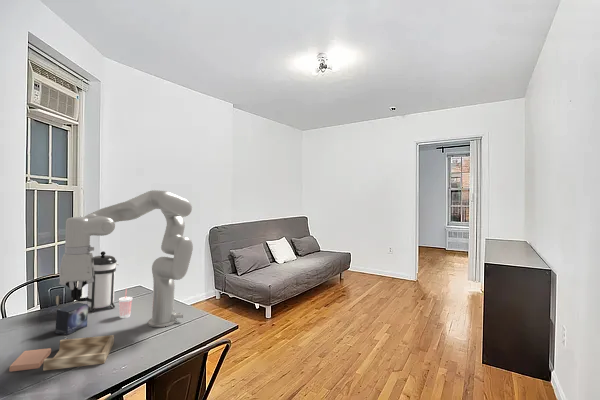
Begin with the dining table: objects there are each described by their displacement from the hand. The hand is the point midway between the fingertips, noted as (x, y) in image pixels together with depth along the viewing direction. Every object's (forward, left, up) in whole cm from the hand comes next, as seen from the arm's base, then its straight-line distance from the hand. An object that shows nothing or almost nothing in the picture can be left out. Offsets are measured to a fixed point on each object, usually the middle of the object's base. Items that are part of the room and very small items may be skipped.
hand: (76, 299), depth 118 cm
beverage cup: (-11, -38, -22) cm, 45 cm away
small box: (+8, -26, -22) cm, 35 cm away
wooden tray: (-3, +2, -22) cm, 22 cm away
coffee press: (+4, -53, -22) cm, 58 cm away
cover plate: (+12, +2, -22) cm, 25 cm away
